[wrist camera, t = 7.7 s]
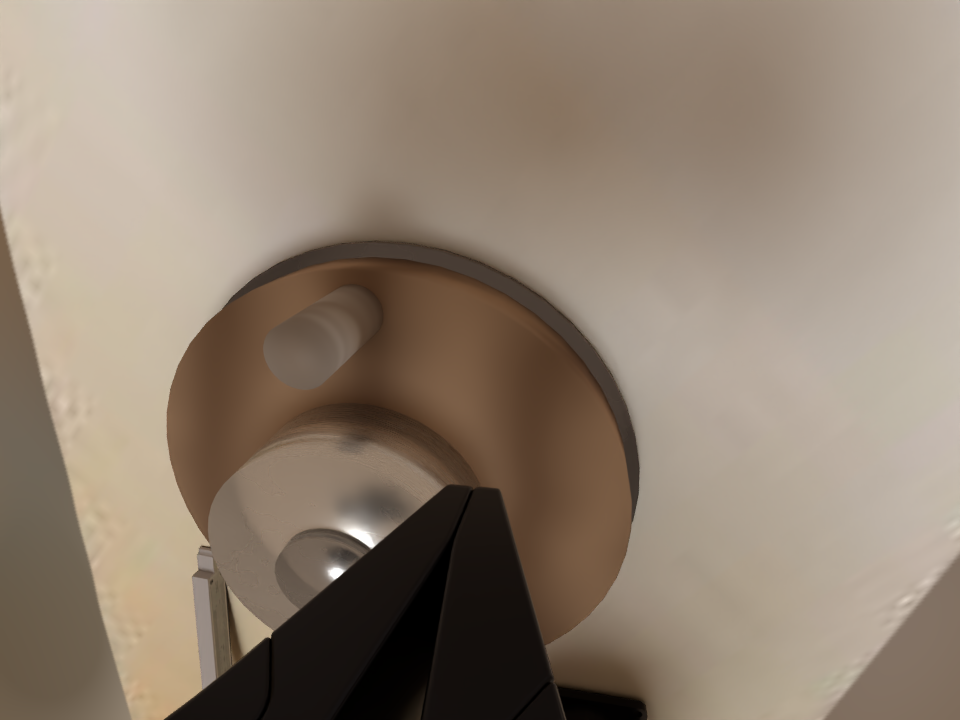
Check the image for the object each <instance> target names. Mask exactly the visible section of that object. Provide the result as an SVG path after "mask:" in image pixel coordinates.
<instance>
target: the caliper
mask: <svg viewBox="0 0 960 720" xmlns="http://www.w3.org/2000/svg"><path fill="white" fill-rule="evenodd" d="M197 559H198V571H197V572H196V573H195V574H194V575H193V576H192V581H193V592H194V603H195V614H196V625H197V637H198V647H199V658H200V668H201V679H202V689H204V688H206V687H207V686H208V685H209V684H210V683H212V682H213V681H214V680H215V679H217V678H218V677H219V676H220V675H222V674H223V673H224V672H225V671H226V670H228V669H229V668H230V667H231V666H232V657H231V643H230V628H229V613H228V599H227V585H226V582H225V580H224V578H223V577H222V575H221V573H220V571H219V570H218V567H217V565H216V562H215V560H214V558H213V555H212V551H211V548H206V547H200V548H199V552H198V554H197Z"/></svg>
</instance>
